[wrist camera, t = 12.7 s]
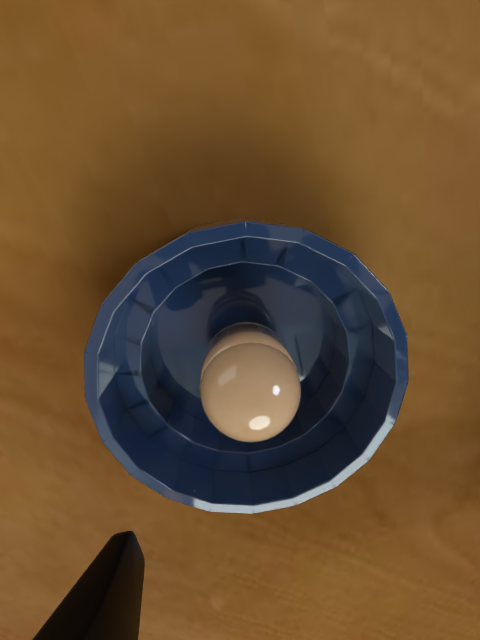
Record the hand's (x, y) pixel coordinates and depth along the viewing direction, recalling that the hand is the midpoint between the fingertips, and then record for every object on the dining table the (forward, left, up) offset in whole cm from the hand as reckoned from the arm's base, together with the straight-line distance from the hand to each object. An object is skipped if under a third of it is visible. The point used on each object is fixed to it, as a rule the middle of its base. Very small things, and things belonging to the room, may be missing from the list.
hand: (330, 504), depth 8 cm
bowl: (-1, +1, -12) cm, 12 cm away
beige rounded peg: (-1, +1, -12) cm, 12 cm away
